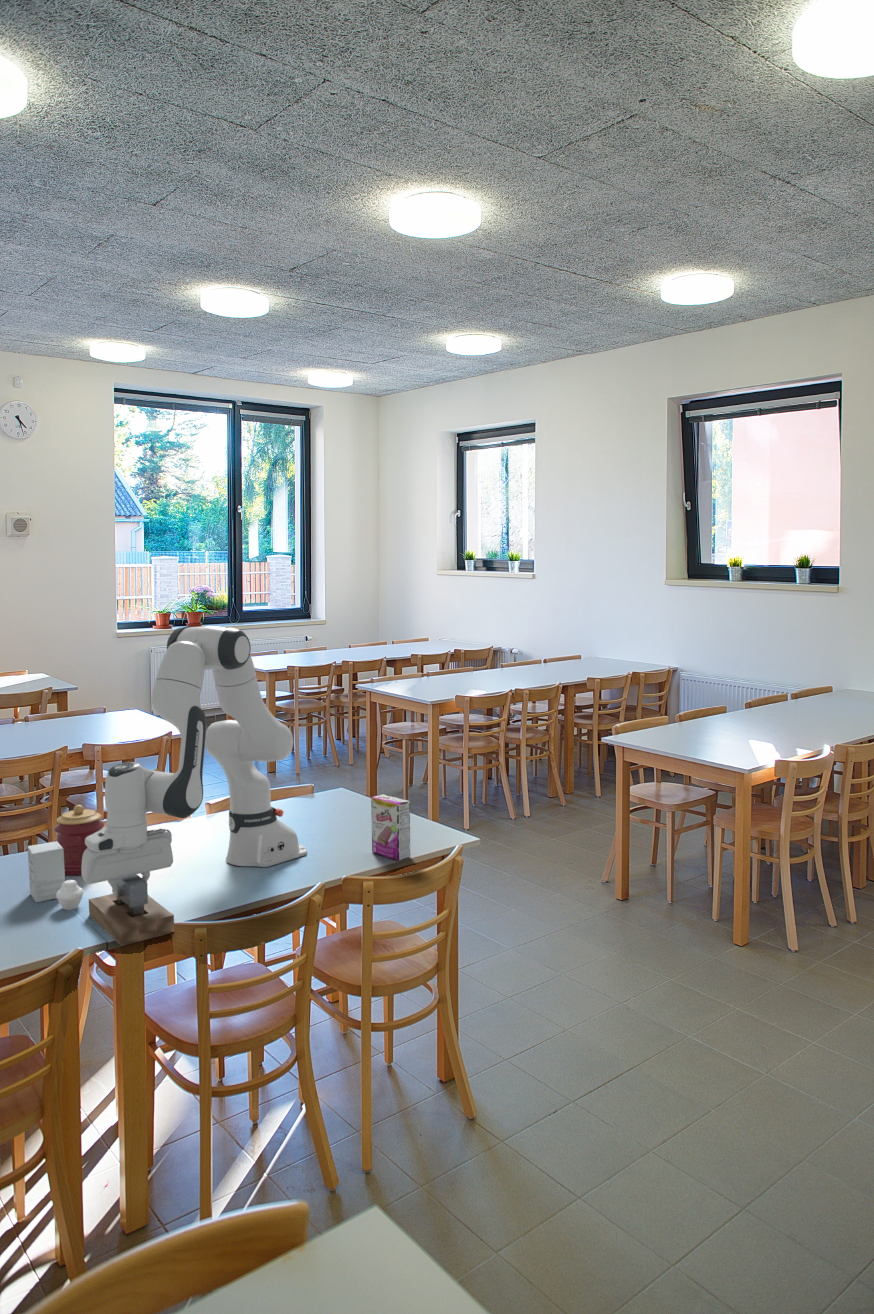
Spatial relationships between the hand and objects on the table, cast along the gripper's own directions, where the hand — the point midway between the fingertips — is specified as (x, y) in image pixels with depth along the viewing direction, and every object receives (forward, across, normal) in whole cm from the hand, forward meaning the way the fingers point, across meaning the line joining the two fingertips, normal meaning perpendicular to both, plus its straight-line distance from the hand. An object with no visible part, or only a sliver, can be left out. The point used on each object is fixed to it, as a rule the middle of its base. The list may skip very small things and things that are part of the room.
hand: (129, 893), depth 213 cm
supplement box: (+8, +10, -31) cm, 33 cm away
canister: (+8, -3, -47) cm, 48 cm away
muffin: (+8, +8, -19) cm, 22 cm away
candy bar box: (+8, -75, -3) cm, 75 cm away
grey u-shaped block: (+6, 0, 0) cm, 6 cm away
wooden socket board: (+7, 0, 0) cm, 7 cm away
